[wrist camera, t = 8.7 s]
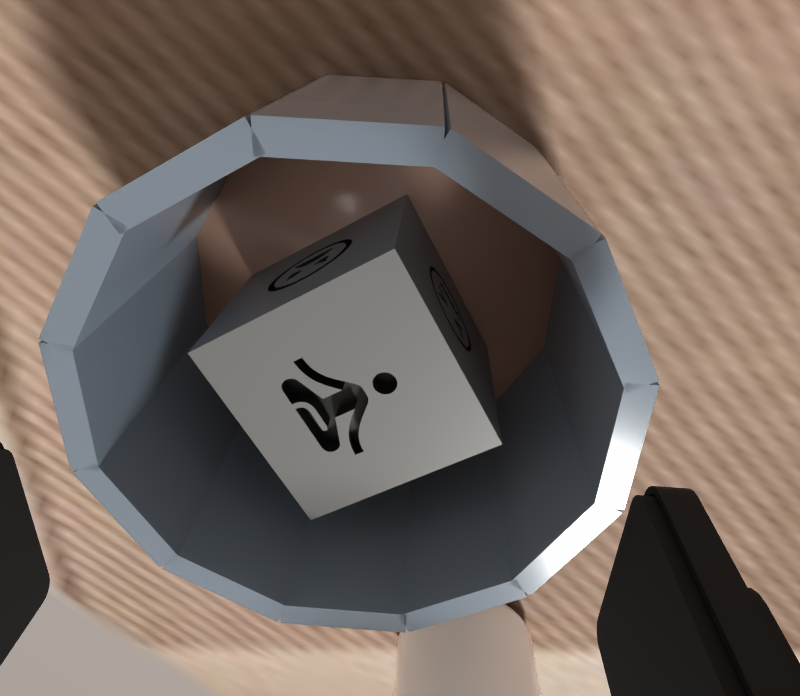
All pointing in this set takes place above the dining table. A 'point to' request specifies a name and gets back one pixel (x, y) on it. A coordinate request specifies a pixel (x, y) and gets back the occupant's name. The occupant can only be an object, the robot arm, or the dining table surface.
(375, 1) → the dining table surface
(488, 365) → the dice cube
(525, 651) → the drinking glass
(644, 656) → the robot arm
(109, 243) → the cup
